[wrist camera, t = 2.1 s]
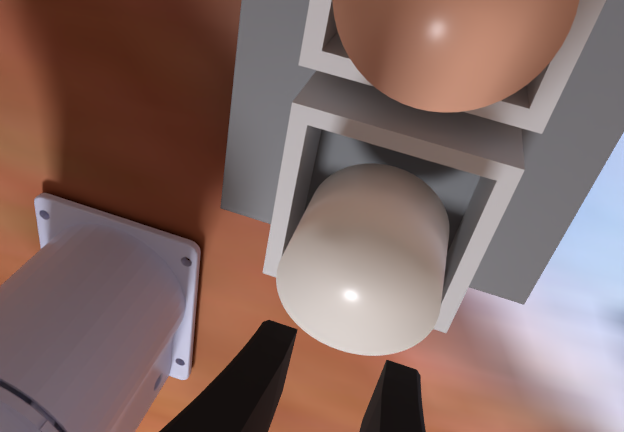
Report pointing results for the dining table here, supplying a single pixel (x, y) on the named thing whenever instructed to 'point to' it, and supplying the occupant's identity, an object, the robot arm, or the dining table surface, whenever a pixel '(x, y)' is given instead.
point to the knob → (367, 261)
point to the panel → (424, 141)
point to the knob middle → (452, 47)
